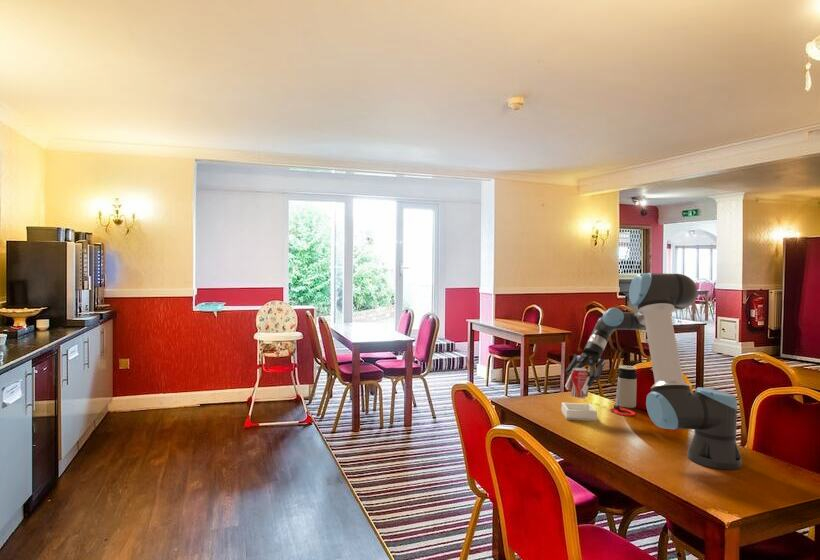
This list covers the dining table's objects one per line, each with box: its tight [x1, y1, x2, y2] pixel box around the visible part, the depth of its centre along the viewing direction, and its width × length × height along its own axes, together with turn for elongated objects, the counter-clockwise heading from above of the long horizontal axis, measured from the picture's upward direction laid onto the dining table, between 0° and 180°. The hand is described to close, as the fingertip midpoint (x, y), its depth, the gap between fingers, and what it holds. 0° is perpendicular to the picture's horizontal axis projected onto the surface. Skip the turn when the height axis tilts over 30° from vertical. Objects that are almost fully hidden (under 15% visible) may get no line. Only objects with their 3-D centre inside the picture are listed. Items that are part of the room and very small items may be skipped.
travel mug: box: [617, 365, 638, 409], centre depth 231 cm, size 8×8×18 cm
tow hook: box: [609, 381, 636, 417], centre depth 219 cm, size 8×13×9 cm
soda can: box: [570, 367, 589, 400], centre depth 212 cm, size 7×7×12 cm
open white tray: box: [561, 402, 598, 422], centre depth 213 cm, size 12×12×4 cm
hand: (575, 389), depth 210 cm, fingers closed on soda can, 7 cm apart
